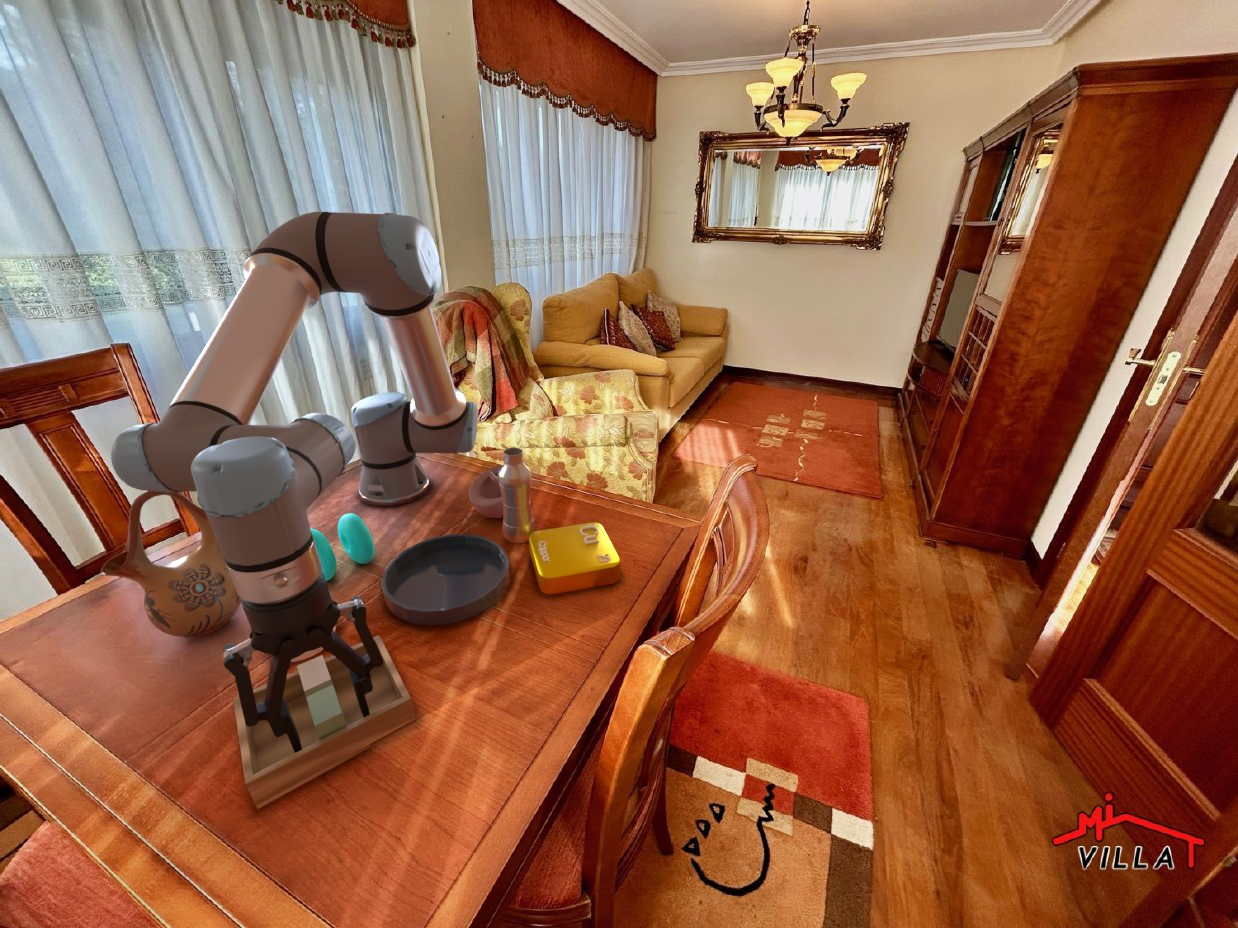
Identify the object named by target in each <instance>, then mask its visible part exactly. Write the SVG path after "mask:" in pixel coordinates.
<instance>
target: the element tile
mask: <svg viewBox="0 0 1238 928" xmlns="http://www.w3.org/2000/svg"><path fill="white" fill-rule="evenodd" d="M528 543H529V555H530V558H531V561H532V566H533V569H534V573H535V577H536V581H537V584H538V589H539V590H540V592H542V593H543V594H545V595H555V594H561V593H566V592H571V591H577V590H582V589H583V590H584V589H587V588H592V587H593V588H599V587H604V586H610V585H613V584H615V583H617V582H619V580H620V571H621V559H620V556H619V555H618V553H617V551H616V549H615V547H614V545H613V543H612V541H611V540H610V537H609V535H608V533H607V532H606V530H605V527H604V526H603V525H602V524H600V523H599V522H587V523H580V524H574V525H567V526H561V527H554V528H549V529H548V528H546V529H542V530H535V532H533V533H532V534H530V536H529V541H528Z"/></svg>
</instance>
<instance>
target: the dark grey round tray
mask: <svg viewBox="0 0 1238 928" xmlns="http://www.w3.org/2000/svg"><path fill="white" fill-rule="evenodd" d="M510 573H511V572H510V563H509V555H508V554H507V552H506V551H505V548H504V547H503V546H502V545H500V544H499V543H498V542H496V541H494V540H493V539H489V538H488V537H484V536H482V535H475V534H468V533H455V534H446V535H440V536H436V537H435V536H434V537H432V538H429V539H428V538H427V539H425V540H423V541H419V542H417V543H416V544H413V545H411V546H410V547H408V548H406V549H403V550H402V552H400V553H399V554H398V555H396V556H395V557H394V558H393V559H392V560H391V561H390V562H389V564H388V565H387V566H386V567H385V569H384V570H383V573H382V577H381V581H380V585H381V589H382V593H383V598H384V601H385V605H386V607H387V609H388V610H389V611H390V612H391V613H392V614H393V615H394V616H395V617H397V618H398V619H400V620H403V621H404V622H407V623H410V624H414V625H422V626H441V625H442V626H443V625H448V624H454V623H458V622H461V621H464V620H467V619H470V618H472V617H474V616H476V615H479V614H481V613H483V612H484V611H486V610H487V609H489V608H490V607H491V606H493V605H495V603H496V602H498V600H499V599H500V598H501V597H502V596H503V595H504V593H505V592H506V590H507V588H508V586H509V583H510V579H511V574H510Z"/></svg>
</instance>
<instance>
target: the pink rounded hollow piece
mask: <svg viewBox="0 0 1238 928" xmlns="http://www.w3.org/2000/svg"><path fill="white" fill-rule="evenodd" d="M502 466H503V464H501V465H495V466H493V467H490V468H487V469H486V470H485V471H483V472H482V473H480V474H479V475H478V476H477V477H476V478H475V479H474V481H473V482H472V484H471V486H470V488H469V490H468V497H469V498H468V499H469V501H470V503H471V505H472V507H473V508H474V510H475V511H476V512H477V513H479V514H480V515H482V516H484V517H487V518H490V519H503V501H502V494H501V490H500V487H499V483H498V478H497V476H498V472H499V470H500V468H501V467H502Z"/></svg>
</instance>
